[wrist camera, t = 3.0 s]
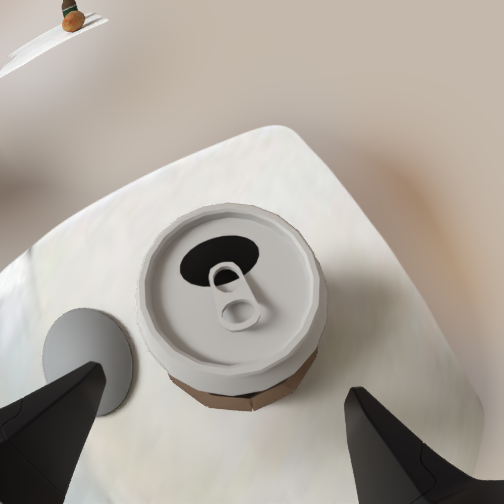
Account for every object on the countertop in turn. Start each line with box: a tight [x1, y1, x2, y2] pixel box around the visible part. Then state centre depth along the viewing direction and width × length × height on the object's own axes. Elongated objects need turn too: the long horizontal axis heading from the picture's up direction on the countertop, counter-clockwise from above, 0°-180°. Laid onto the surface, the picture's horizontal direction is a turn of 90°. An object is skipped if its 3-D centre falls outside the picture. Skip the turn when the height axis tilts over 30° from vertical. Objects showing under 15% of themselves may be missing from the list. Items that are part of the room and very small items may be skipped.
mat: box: [42, 308, 133, 417], centre depth 18 cm, size 9×9×1 cm
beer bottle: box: [62, 0, 78, 18], centre depth 63 cm, size 8×8×24 cm
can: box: [136, 203, 328, 396], centre depth 14 cm, size 8×8×12 cm
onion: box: [62, 11, 85, 32], centre depth 60 cm, size 10×10×10 cm
